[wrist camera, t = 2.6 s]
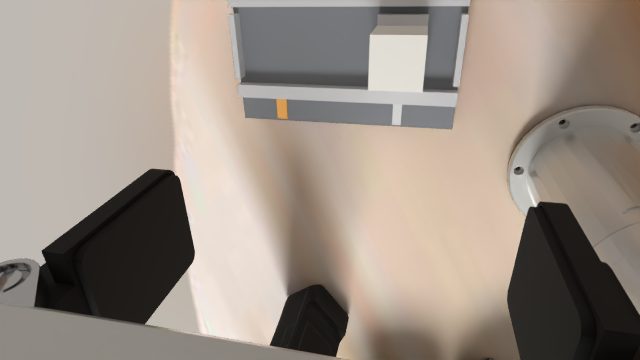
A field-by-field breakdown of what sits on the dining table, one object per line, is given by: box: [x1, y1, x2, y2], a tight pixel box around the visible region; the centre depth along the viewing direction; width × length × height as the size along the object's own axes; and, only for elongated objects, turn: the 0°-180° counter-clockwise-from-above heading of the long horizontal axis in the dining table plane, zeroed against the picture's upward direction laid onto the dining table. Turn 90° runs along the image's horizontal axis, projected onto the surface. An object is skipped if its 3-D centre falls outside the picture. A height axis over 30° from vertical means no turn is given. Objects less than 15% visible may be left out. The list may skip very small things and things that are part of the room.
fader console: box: [228, 0, 471, 129], centre depth 36 cm, size 20×14×3 cm
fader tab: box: [368, 14, 429, 93], centre depth 32 cm, size 4×6×6 cm
